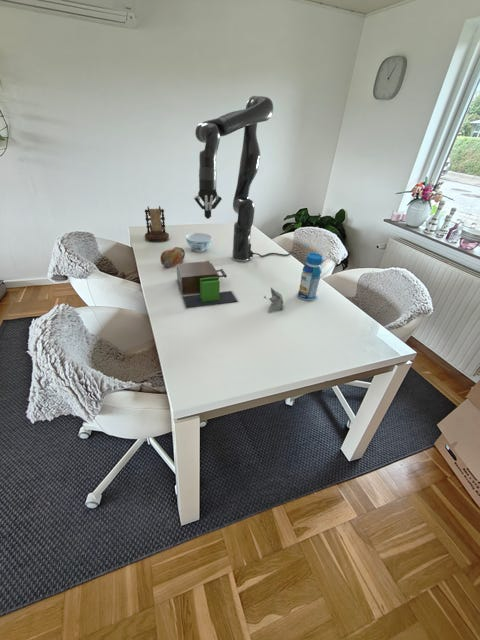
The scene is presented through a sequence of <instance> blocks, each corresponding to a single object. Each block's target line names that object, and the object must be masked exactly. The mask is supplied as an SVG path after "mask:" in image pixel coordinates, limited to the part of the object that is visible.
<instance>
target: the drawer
mask: <svg viewBox="0 0 480 640" xmlns="http://www.w3.org/2000/svg"><path fill="white" fill-rule="evenodd" d="M210 264H211V265H212V267H213V269H214V270H215V272H216V274H217V277H219V278H224V279H225V278H227V274H226V272H225V270H224V269H223V268H220V269H216V267H215V266H214V264H213V263H212V262H210ZM218 272H220V273H221V275H220V274H219V273H218Z"/></svg>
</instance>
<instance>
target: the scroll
mask: <svg viewBox="0 0 480 640" xmlns="http://www.w3.org/2000/svg"><path fill="white" fill-rule="evenodd" d="M164 212H165V209H164V208H161V206H160V205H159V206H158V208H150V207H149V206H147V209H144V213H145V222H146V227H145V228H146V229H147V231H146V233H145V234H144V238H145V239H146V240H149V242H150V243H151V242H152V241H157V242H158V241H164V240H165V242H167V240H168V239H169V237H170V234H169V233H168V232H167V231H166V223H165V221H166V216H165V213H164Z"/></svg>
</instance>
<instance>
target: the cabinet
mask: <svg viewBox="0 0 480 640" xmlns="http://www.w3.org/2000/svg"><path fill="white" fill-rule="evenodd" d="M210 263H211V262H210V261H209V260H205V261H194V262H192V261H191V262H181V263H179V264H176V265H175V266H176V280H177V283H178V285H179V289H180V291H181V294H182V295H184V296H186V295H195V294H200V279H201V278H209V277H217V274H216V272H215V270H214V269H213V267H212V265H213V264H212V265H211V264H210Z"/></svg>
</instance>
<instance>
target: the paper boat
mask: <svg viewBox="0 0 480 640" xmlns="http://www.w3.org/2000/svg"><path fill="white" fill-rule="evenodd" d="M270 292H271V297H270V298H267V296H266V295H264V296H263V299H266V300H269V301H270V303H272V304H271V305H272V306H271V307H270V310H269V313H272V312H277V311H281V310H282V308H283V305H284V300H283V295H282V293H281V292H279V291H277V290H276V289H274V288H273V287H270Z"/></svg>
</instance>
